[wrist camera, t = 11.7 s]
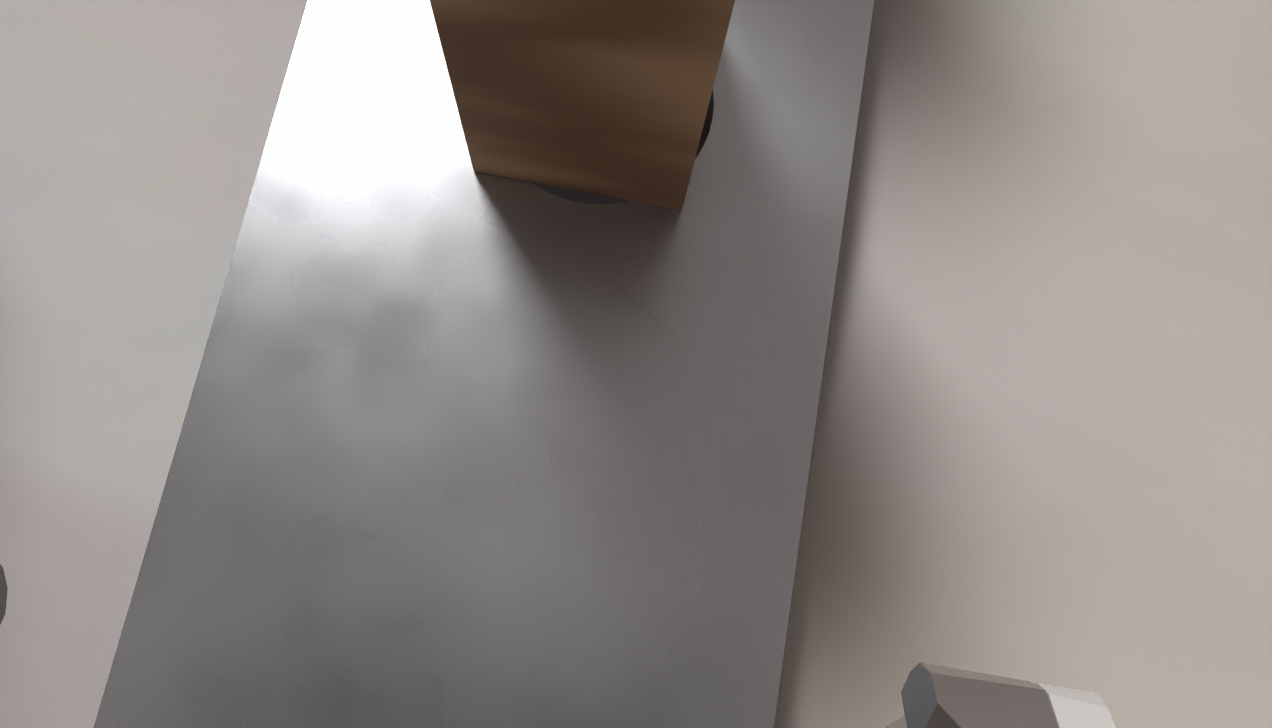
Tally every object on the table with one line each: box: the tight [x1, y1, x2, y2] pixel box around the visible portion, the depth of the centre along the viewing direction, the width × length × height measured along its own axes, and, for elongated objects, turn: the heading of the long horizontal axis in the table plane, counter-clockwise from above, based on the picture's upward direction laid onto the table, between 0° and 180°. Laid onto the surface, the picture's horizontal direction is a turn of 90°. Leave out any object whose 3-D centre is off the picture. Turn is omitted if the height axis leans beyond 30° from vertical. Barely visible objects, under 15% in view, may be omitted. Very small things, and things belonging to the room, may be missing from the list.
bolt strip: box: [94, 0, 874, 728], centre depth 20 cm, size 11×28×1 cm, turn 170°
